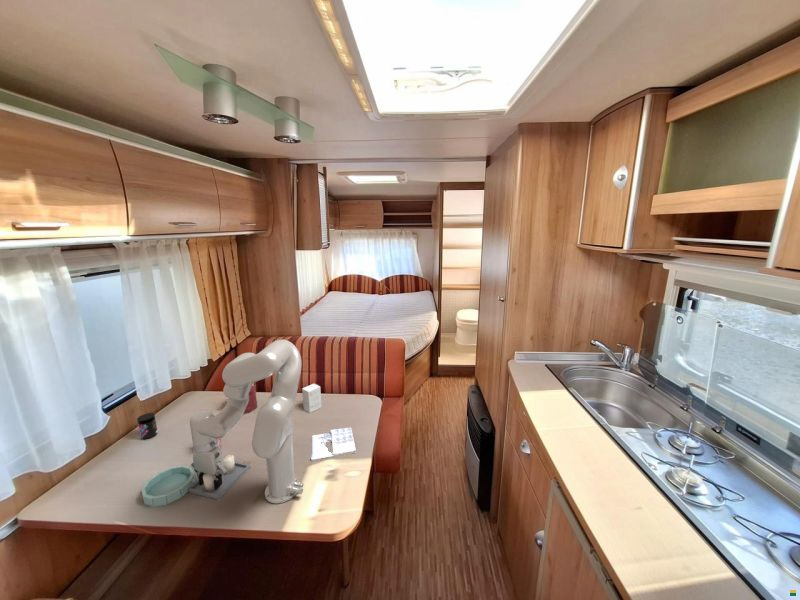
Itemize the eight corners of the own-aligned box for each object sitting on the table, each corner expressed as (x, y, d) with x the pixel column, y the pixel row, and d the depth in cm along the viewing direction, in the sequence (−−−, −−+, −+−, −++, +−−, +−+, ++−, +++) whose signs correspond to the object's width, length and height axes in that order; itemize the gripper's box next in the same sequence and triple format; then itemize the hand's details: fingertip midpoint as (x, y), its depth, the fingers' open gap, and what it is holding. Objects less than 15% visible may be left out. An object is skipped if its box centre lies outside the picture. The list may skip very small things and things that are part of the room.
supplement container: (141, 434, 153) (137, 415, 151) (158, 430, 157) (155, 411, 155) (139, 442, 148) (136, 422, 146) (157, 437, 152) (154, 417, 149)
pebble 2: (237, 468, 131) (236, 455, 130) (229, 475, 127) (228, 462, 126) (229, 466, 132) (227, 453, 131) (220, 473, 128) (219, 460, 127)
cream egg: (220, 484, 122) (218, 471, 121) (211, 493, 118) (209, 479, 117) (211, 482, 123) (209, 468, 122) (202, 490, 119) (200, 477, 118)
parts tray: (250, 468, 132) (250, 464, 131) (218, 501, 115) (217, 496, 115) (223, 462, 135) (222, 458, 135) (188, 493, 119) (187, 489, 119)
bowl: (204, 478, 126) (203, 470, 125) (166, 511, 111) (164, 502, 110) (173, 470, 130) (172, 462, 129) (132, 502, 115) (130, 492, 114)
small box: (315, 403, 182) (313, 383, 180) (321, 407, 178) (320, 386, 176) (303, 409, 176) (301, 388, 173) (309, 413, 172) (308, 391, 169)
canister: (244, 416, 169) (241, 386, 165) (226, 412, 173) (223, 382, 170) (262, 404, 181) (259, 376, 177) (245, 400, 185) (242, 373, 182)
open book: (356, 454, 141) (356, 450, 140) (309, 462, 136) (309, 458, 136) (351, 429, 159) (351, 425, 158) (310, 435, 154) (310, 431, 154)
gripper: (232, 441, 118) (237, 482, 122) (195, 434, 123) (201, 473, 126) (216, 454, 111) (221, 497, 115) (177, 446, 116) (184, 487, 119)
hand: (211, 484), depth 121 cm, fingers open, 6 cm apart
